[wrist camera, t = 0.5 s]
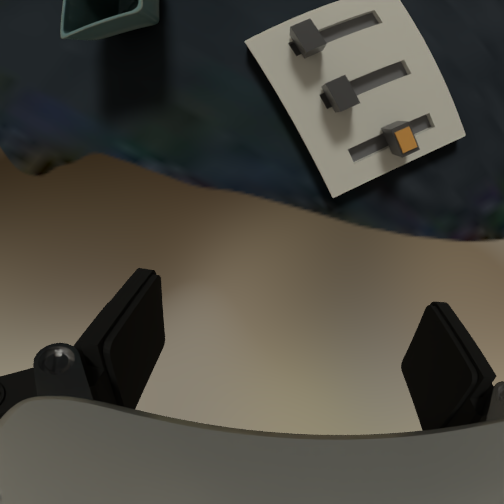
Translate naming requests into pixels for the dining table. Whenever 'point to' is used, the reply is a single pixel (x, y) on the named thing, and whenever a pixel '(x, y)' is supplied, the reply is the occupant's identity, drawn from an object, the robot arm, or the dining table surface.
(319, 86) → the breaker board
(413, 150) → the breaker
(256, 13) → the dining table surface
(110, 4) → the flower pot
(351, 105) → the breaker middle
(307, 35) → the block
